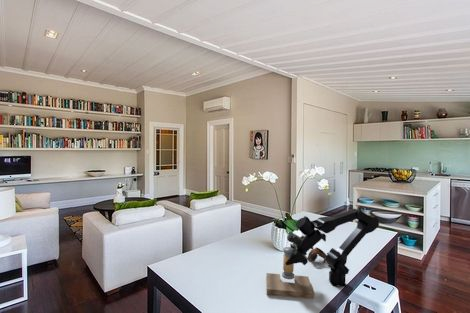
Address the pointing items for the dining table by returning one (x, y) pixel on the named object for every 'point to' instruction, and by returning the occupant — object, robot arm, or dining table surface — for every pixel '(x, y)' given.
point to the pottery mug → (314, 252)
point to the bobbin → (287, 268)
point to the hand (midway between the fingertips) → (285, 261)
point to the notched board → (289, 286)
